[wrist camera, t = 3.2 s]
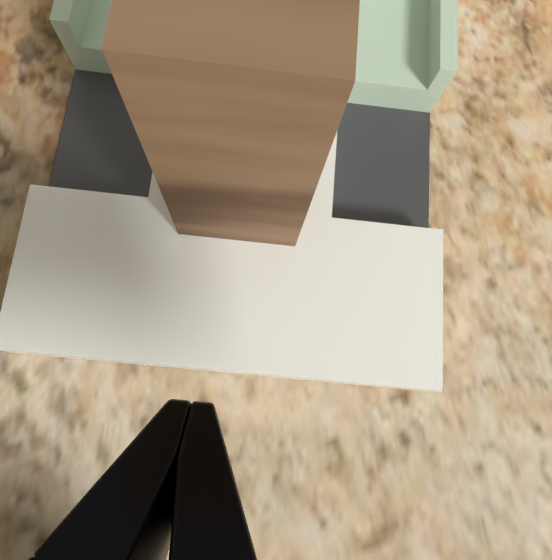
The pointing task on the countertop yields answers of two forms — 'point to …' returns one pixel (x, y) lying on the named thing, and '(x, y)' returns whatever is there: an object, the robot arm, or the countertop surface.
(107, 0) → the box
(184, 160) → the walnut block
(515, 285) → the countertop surface
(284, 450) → the countertop surface
